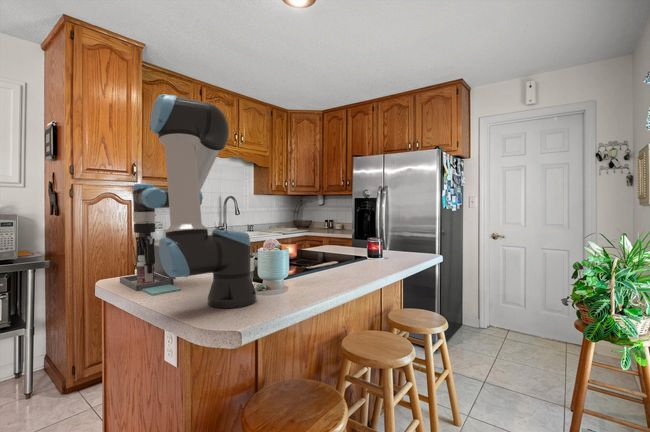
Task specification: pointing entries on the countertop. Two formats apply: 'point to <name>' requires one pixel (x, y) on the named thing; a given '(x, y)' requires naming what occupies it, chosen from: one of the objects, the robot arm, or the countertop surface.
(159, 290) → the pad
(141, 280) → the pill bottle
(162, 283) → the case
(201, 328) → the countertop surface
